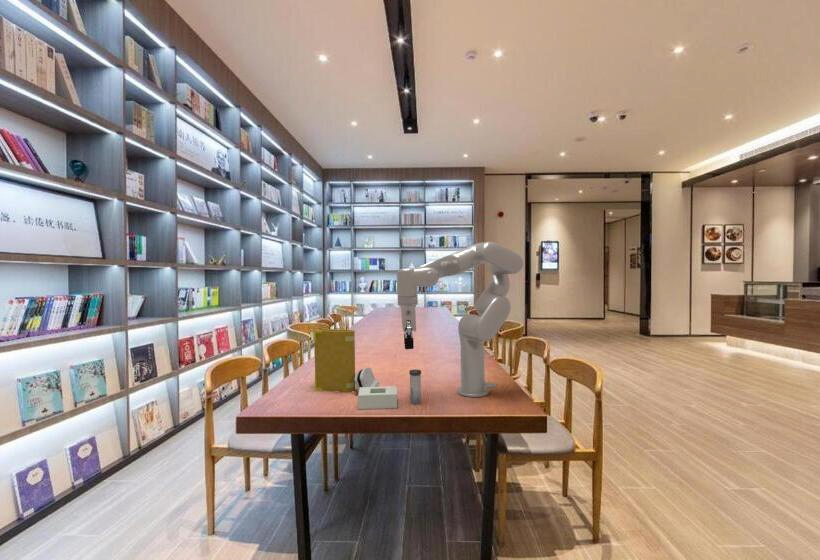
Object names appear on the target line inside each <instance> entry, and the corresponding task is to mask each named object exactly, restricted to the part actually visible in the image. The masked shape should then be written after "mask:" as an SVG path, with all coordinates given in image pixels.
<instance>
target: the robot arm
mask: <svg viewBox="0 0 820 560" xmlns="http://www.w3.org/2000/svg"><path fill="white" fill-rule="evenodd" d="M483 264H488V269H489V275H490V279H489V280H490V281H489V283H488V284H487V286H486V288H485V289H483V292H482V293H481V294H480V296H479V297H478V298H477V300H476V302H475V306H474V309H475V311H476V313H477V314H474V313H473V314H472V313H471V314H465V315H463V316H462V317H461V318H460V320H459V321H458V325H457V327H458V328H457V331H458V336H459V343H460V386H459V387H457V389H456V393H457V394H459V395H460V396H463V397H469V398H483V397H486V396H487V395H489V393H490V392H489V391H490V390H489V389H497V383H495V382H494V383H492V382H487V381H486V380H485V379H486V378H485V371H486V370H485V367H486V366H485V345H484V344H485V343H484V342H489V341H491V340H492V339H493V338H494V337H495V336H497V334H498V332H499V330H500V329H501V327H502V326H503V324H505V321H506V320H507V319H508V317H509V315H510V312H511V309H512V308H511V307H512V306H511V302H510V299H509V298H507V297H506V296H507V295H508V293H509V291H510V288H511V287H510V278H509V275H515V274H518V273H519V272H521V271H522V270H523V267H524V260H523V258H522V256H521V255H520V254H519V253H518V252H516V251H513V250H511V249H510V248H507V247H505V246H503V245H501V244H499V243H496V242H494V241H484V242H478V243H474V244H472V245H470V246H468V247H465V248H463V249H461V250H458V251H456V252H453V253H451V254H448V255H445V256H443V257H440V258H438V259H435V260H433V261H429V262H428V263H425V264H422V265H420V266H418V267H416V268H412V267H408V268H407V267H406V268H399V269H397V271H396V283H397V284H396V285H397V287H396V288H397V291H396V292H397V306H400V308H401V309H400V311H401V312H400V313H401V314H400V315H401V318H400V319H401V327H402V331H403V332H404V333H403V340H404V341H403V344H404V349H405V350H413V349H414V345H415V344H414V334H413V332H417V318H416V317H417V313H416V306H417V305H419V302H418V287H422V288H430V287H434V286H436V285H437V284H438V282H439V280H440V279H441V278H445V277H450V276H452V277H453V276H456V275H460V274H462V273H465V272H466V271H467V272H468V270H471V269H473V268H476V267H478V266H480V265H483Z"/></svg>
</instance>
